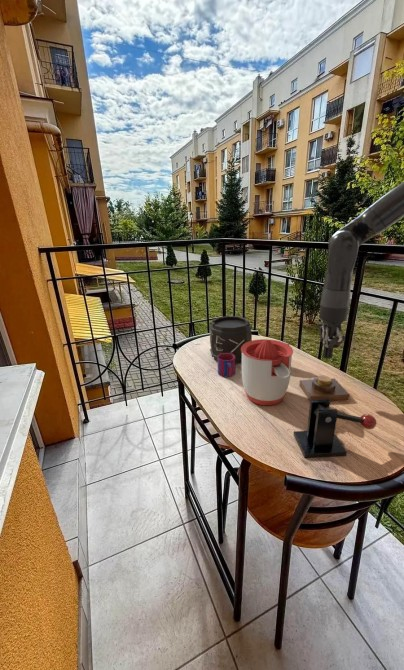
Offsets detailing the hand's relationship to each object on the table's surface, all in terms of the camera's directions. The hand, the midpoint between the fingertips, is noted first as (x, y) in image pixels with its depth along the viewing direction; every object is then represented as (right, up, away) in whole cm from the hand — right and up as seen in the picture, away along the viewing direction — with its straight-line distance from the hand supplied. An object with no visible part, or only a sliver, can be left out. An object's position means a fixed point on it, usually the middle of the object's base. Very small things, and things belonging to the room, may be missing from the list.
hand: (327, 357), depth 87 cm
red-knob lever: (-5, -15, -19) cm, 25 cm away
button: (0, -9, +3) cm, 9 cm away
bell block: (+1, -12, +5) cm, 13 cm away
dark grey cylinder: (-27, -2, +33) cm, 43 cm away
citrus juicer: (-18, -13, +4) cm, 23 cm away
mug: (-30, -8, +18) cm, 36 cm away
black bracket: (-10, -21, -17) cm, 28 cm away
